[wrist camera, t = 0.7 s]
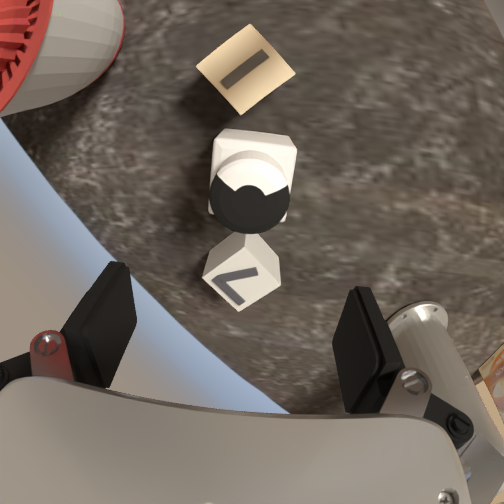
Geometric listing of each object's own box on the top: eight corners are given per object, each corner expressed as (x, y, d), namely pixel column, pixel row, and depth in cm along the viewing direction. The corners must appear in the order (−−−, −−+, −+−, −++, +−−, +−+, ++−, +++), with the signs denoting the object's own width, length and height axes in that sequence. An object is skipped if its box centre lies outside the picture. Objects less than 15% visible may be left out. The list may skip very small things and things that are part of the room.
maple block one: (289, 77, 28) (296, 73, 23) (244, 111, 30) (240, 115, 25) (252, 35, 26) (250, 22, 20) (207, 70, 28) (194, 66, 22)
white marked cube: (278, 256, 39) (281, 286, 33) (241, 281, 41) (238, 313, 35) (247, 222, 36) (244, 248, 31) (209, 250, 38) (201, 279, 33)
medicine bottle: (280, 197, 35) (289, 250, 24) (217, 190, 34) (197, 239, 24) (290, 135, 31) (306, 160, 21) (223, 127, 31) (203, 148, 20)
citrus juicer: (132, -47, 20) (35, -115, 2) (154, 75, 28) (34, 75, 11) (28, 9, 21) (-87, 4, 4) (46, 120, 30) (-78, 169, 12)
